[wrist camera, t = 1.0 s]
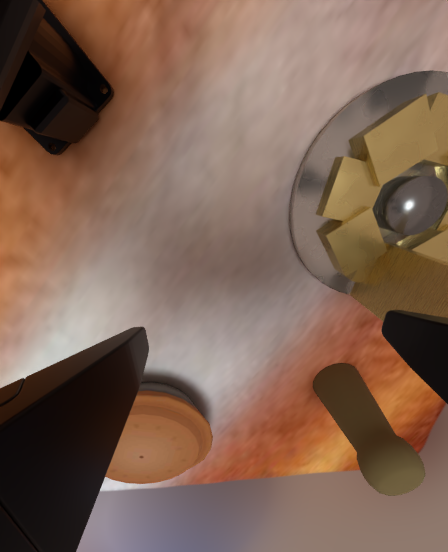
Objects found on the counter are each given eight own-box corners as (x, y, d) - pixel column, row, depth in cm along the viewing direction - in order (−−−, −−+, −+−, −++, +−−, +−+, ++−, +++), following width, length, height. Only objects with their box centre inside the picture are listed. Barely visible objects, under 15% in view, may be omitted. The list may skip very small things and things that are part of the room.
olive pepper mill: (305, 377, 29) (360, 486, 18) (349, 355, 28) (432, 457, 18) (323, 403, 31) (380, 513, 21) (364, 383, 30) (446, 488, 20)
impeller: (249, 186, 19) (258, 187, 16) (459, 9, 15) (521, -32, 12) (342, 320, 25) (361, 340, 22) (506, 217, 22) (554, 223, 19)
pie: (58, 407, 27) (29, 453, 23) (159, 346, 25) (149, 384, 20) (144, 463, 33) (134, 509, 29) (233, 418, 31) (238, 460, 26)
